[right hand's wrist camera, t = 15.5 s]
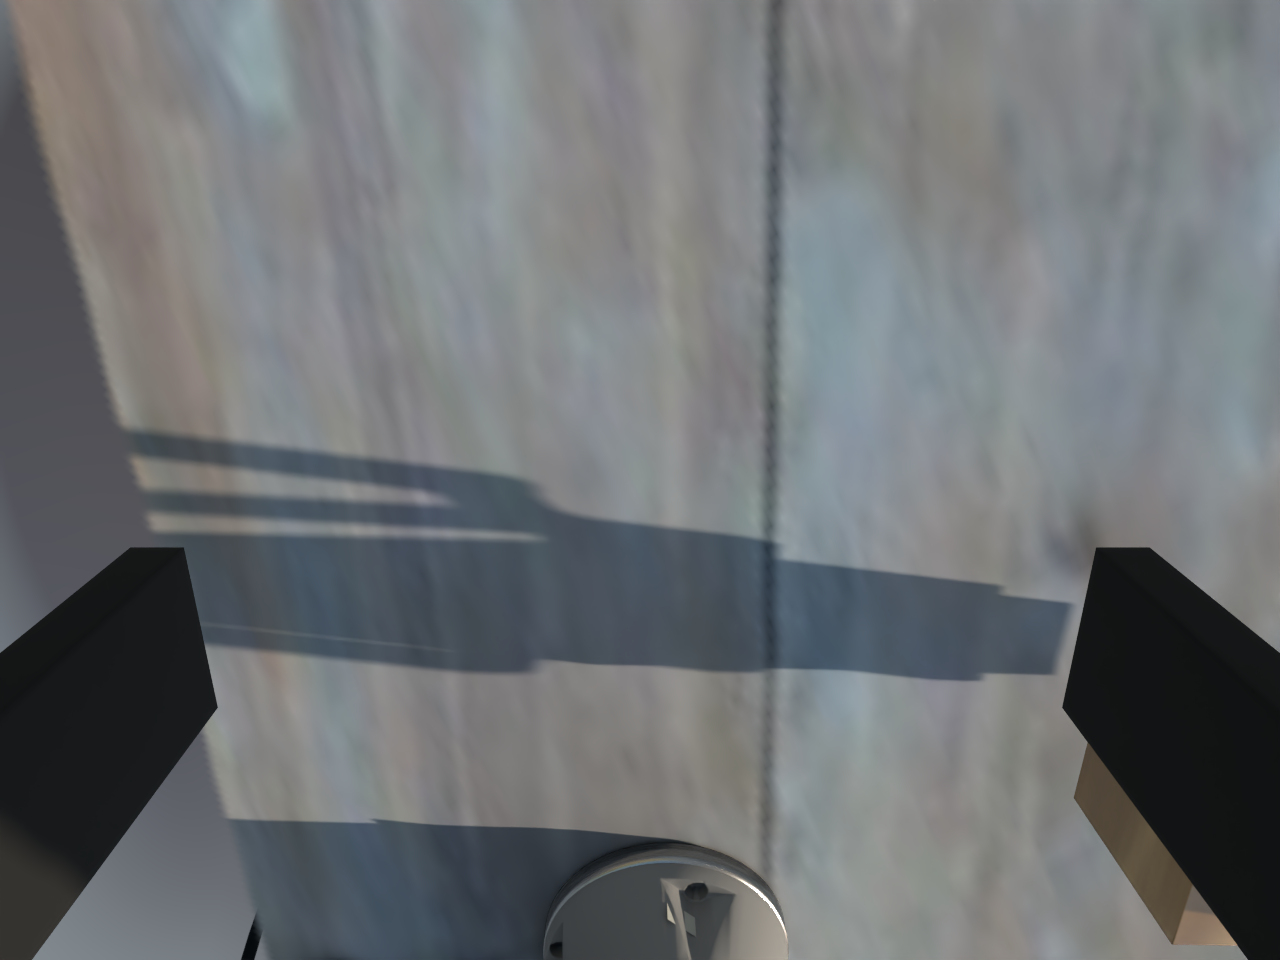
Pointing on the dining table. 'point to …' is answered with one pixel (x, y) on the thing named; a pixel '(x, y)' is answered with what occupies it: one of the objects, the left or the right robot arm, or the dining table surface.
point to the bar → (1146, 859)
